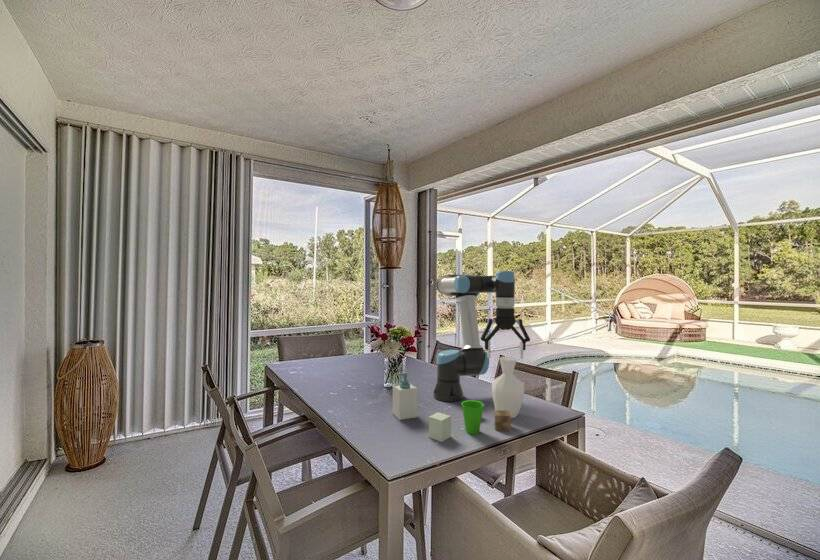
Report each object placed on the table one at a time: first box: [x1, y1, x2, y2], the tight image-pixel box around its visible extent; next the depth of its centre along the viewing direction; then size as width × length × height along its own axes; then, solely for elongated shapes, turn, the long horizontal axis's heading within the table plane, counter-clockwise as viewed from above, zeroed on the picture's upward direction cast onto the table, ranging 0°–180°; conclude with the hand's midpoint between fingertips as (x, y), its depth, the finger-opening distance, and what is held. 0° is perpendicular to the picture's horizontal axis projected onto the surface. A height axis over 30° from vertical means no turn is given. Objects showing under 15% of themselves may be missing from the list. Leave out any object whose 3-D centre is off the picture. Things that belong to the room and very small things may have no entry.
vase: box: [491, 356, 525, 419], centre depth 163 cm, size 14×14×25 cm
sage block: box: [428, 412, 452, 443], centre depth 140 cm, size 6×6×8 cm
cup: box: [460, 399, 485, 435], centre depth 145 cm, size 9×9×11 cm
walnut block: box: [494, 409, 512, 432], centre depth 149 cm, size 6×6×6 cm
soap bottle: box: [392, 371, 419, 421], centre depth 162 cm, size 9×9×19 cm
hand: (505, 357), depth 155 cm, fingers open, 13 cm apart
